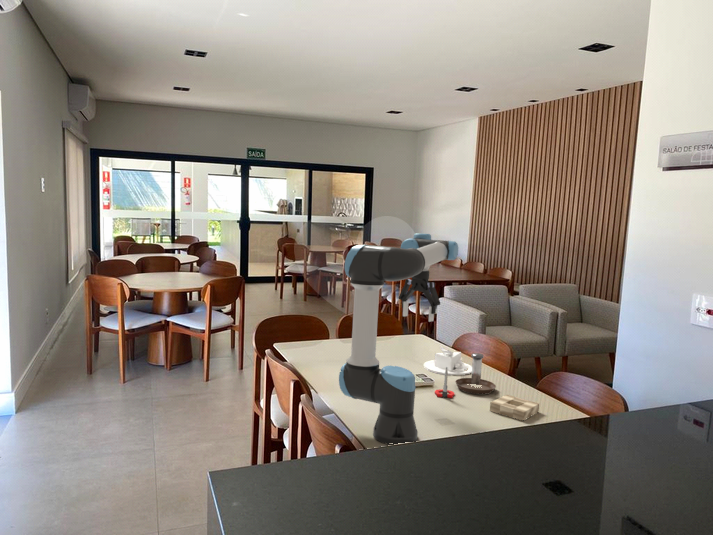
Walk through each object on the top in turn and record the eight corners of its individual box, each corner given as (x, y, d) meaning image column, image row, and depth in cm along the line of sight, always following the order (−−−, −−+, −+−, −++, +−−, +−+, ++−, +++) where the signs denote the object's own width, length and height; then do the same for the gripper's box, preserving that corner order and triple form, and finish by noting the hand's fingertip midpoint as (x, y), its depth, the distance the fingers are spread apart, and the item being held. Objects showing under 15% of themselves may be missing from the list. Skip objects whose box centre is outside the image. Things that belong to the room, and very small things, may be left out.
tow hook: (434, 391, 235) (434, 397, 226) (436, 362, 234) (436, 366, 225) (454, 393, 234) (454, 399, 225) (456, 363, 233) (456, 368, 224)
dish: (451, 379, 253) (453, 356, 252) (413, 366, 272) (414, 344, 271) (483, 371, 269) (485, 349, 268) (445, 359, 288) (447, 339, 287)
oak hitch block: (523, 421, 203) (523, 412, 203) (489, 410, 212) (490, 402, 212) (538, 412, 213) (539, 403, 213) (506, 402, 223) (506, 394, 222)
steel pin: (478, 385, 235) (479, 357, 234) (467, 383, 239) (469, 354, 237) (483, 383, 239) (485, 354, 238) (473, 380, 242) (475, 352, 241)
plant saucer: (466, 381, 251) (467, 374, 251) (502, 390, 240) (502, 383, 240) (447, 389, 238) (448, 382, 237) (484, 399, 227) (485, 392, 226)
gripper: (450, 272, 223) (447, 322, 225) (402, 266, 239) (400, 313, 241) (440, 273, 217) (437, 324, 219) (392, 267, 234) (389, 314, 236)
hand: (417, 318), depth 230 cm, fingers open, 13 cm apart
